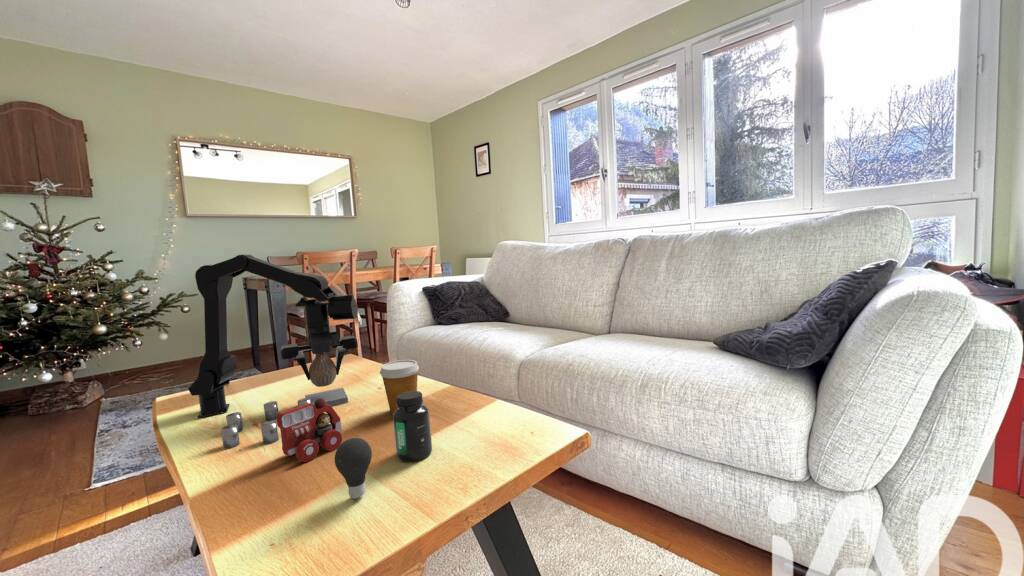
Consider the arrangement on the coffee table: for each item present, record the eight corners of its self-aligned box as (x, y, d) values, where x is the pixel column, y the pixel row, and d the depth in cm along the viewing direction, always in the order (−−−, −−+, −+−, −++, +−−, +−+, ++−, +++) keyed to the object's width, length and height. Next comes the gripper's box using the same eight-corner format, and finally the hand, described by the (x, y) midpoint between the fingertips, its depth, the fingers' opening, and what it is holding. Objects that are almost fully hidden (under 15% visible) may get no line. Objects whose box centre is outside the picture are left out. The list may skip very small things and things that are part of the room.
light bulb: (345, 490, 70) (339, 433, 69) (379, 486, 70) (373, 430, 69) (334, 510, 64) (327, 449, 63) (370, 506, 65) (364, 445, 64)
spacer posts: (230, 426, 101) (228, 410, 101) (311, 408, 110) (309, 393, 109) (220, 455, 85) (218, 437, 85) (316, 432, 94) (314, 415, 94)
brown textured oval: (342, 380, 117) (339, 349, 116) (329, 388, 110) (326, 356, 109) (319, 380, 118) (316, 350, 117) (304, 389, 111) (301, 357, 110)
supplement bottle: (402, 467, 76) (397, 404, 75) (392, 453, 82) (386, 394, 81) (437, 455, 80) (432, 395, 79) (425, 442, 86) (420, 386, 84)
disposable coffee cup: (430, 407, 105) (426, 361, 104) (402, 421, 97) (397, 372, 96) (404, 401, 110) (400, 357, 109) (375, 415, 102) (371, 367, 101)
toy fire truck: (351, 442, 88) (346, 395, 87) (292, 470, 78) (286, 417, 77) (332, 435, 92) (327, 390, 91) (274, 461, 82) (268, 410, 81)
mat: (305, 400, 116) (305, 395, 116) (343, 392, 121) (342, 387, 121) (307, 411, 108) (306, 406, 107) (348, 402, 112) (347, 397, 112)
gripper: (278, 330, 101) (285, 392, 102) (358, 320, 110) (363, 377, 111) (278, 324, 110) (284, 381, 112) (352, 315, 119) (357, 368, 121)
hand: (323, 377), depth 114 cm, fingers closed on brown textured oval, 7 cm apart
